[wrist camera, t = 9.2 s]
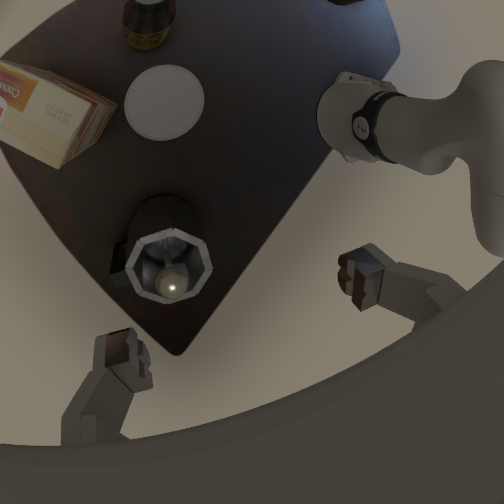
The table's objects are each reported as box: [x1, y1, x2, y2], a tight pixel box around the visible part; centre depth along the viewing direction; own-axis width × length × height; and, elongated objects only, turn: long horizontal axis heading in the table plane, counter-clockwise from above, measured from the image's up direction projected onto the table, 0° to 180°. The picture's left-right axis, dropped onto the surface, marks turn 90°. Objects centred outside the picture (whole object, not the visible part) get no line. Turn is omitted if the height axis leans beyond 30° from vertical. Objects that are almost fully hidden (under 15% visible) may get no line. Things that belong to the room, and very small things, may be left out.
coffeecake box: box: [0, 60, 118, 169], centre depth 23 cm, size 15×7×20 cm, turn 52°
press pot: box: [110, 194, 213, 304], centre depth 40 cm, size 14×11×14 cm
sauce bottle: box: [123, 0, 176, 51], centre depth 21 cm, size 7×6×20 cm
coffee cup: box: [125, 65, 204, 141], centre depth 31 cm, size 9×9×12 cm
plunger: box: [143, 235, 188, 299], centre depth 37 cm, size 8×8×14 cm
